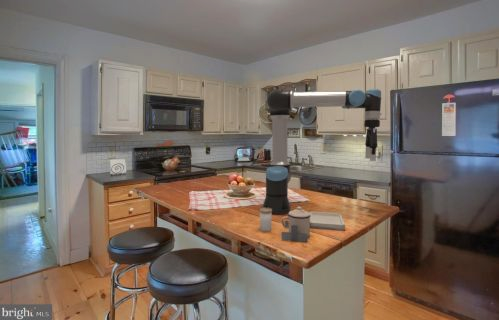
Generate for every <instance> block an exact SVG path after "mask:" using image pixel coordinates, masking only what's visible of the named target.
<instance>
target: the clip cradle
mask: <svg viewBox="0 0 499 320" xmlns="http://www.w3.org/2000/svg"><path fill="white" fill-rule="evenodd" d="M284 225H285V226H289V220H285V221H284ZM280 235H281V239H282V240H281V241H288V240H291V242H300V241H302V242H301V243H308V237H309V236H308V234H303V233H298V226H296V225H291V233H290V232H288V231H281V234H280ZM307 236H308V237H307Z"/></svg>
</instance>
